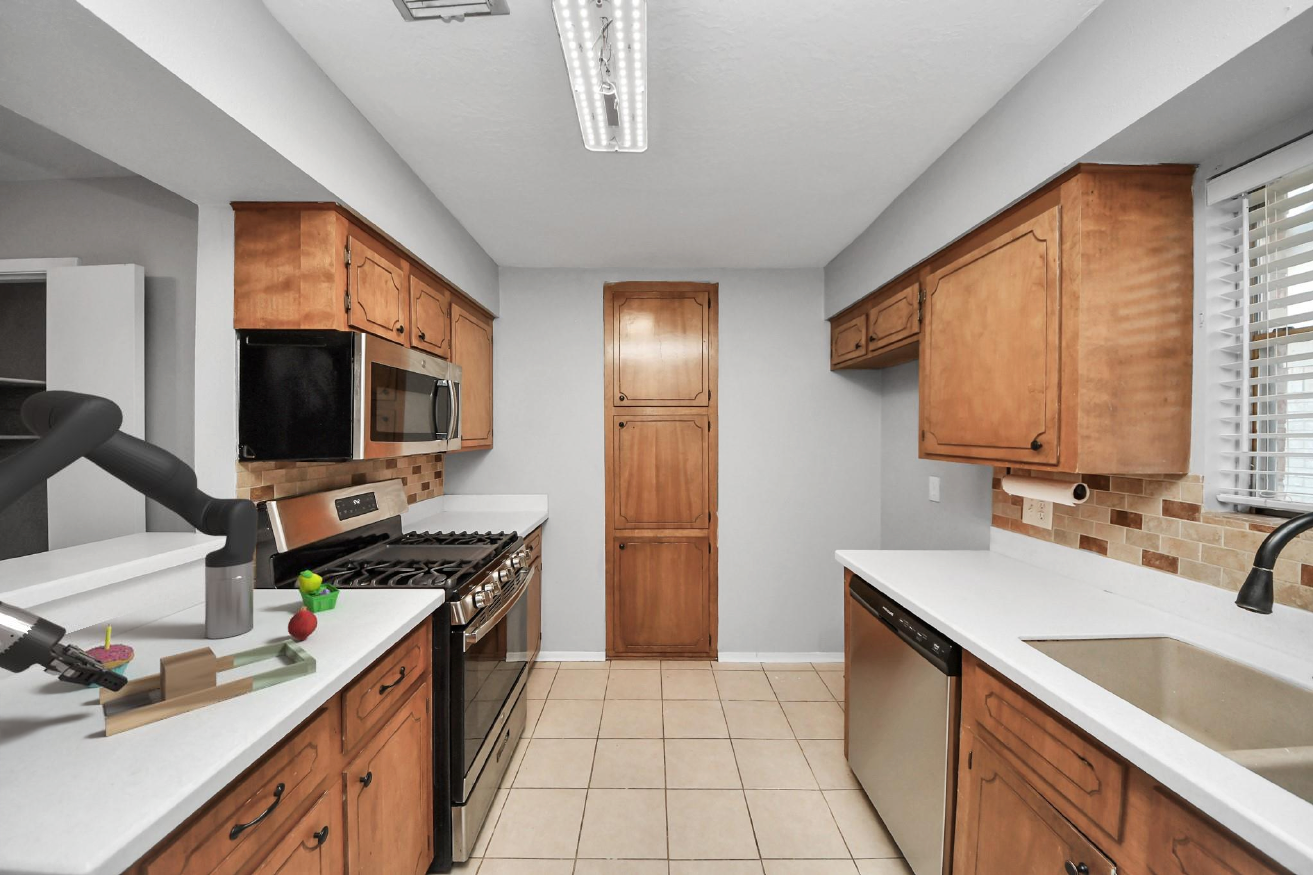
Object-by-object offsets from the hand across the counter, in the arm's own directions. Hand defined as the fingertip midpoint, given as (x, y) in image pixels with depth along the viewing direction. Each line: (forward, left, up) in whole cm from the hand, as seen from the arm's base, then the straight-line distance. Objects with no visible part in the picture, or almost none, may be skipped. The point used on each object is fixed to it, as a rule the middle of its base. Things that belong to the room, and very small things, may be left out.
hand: (122, 685), depth 90 cm
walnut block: (0, +9, -5) cm, 10 cm away
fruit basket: (-37, +41, -5) cm, 55 cm away
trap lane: (0, +12, -5) cm, 13 cm away
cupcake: (-19, -1, -5) cm, 20 cm away
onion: (-13, +31, -5) cm, 34 cm away
